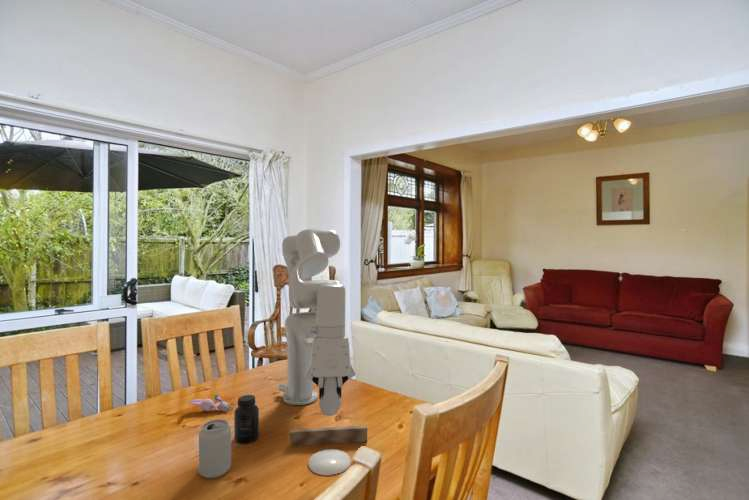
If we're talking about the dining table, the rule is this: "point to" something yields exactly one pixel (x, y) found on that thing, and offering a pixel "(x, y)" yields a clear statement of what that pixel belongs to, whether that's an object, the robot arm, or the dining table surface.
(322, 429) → the walnut wall
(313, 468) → the ceramic coaster
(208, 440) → the can
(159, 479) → the dining table surface
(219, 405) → the rabbit figure
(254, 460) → the dining table surface
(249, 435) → the supplement bottle
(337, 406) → the grey tapered upright piece
